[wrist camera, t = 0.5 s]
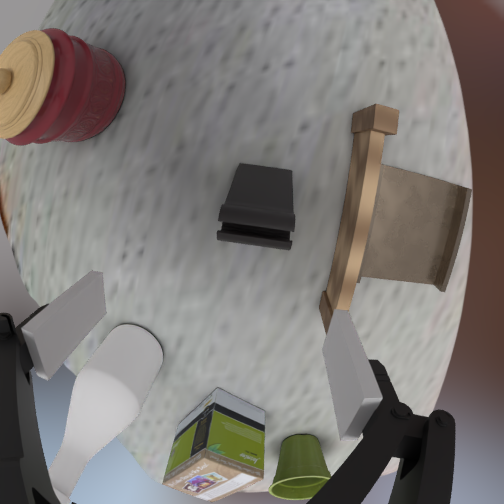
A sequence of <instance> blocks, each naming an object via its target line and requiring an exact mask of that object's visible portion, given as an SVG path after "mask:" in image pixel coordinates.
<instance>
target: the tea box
mask: <svg viewBox="0 0 504 504" xmlns="http://www.w3.org/2000/svg"><path fill="white" fill-rule="evenodd" d="M264 440H265V411H264V410H262V409H260V408H258V407H256V406H254V405H252V404H250V403H248V402H246V401H243V400H241V399H239V398H237V397H235V396H234V395H231V394H230V393H228V392H226V391H224V390H222V389H219V388H217V389H216V390H215V391H214V392H213V393H211V395H209V396H208V397H207V398H206V399H205V400H204V401H203V402H202V403H201V404H200V405H199V406H198V407H197V408H196V409H195V410H194V411H193V412H191V413H190V414H189V415H188V416H187V417H186V418H185V419H184V420H183V421H182V422H181V423H180V424H179V425H178V428H177V431H176V435H175V439H174V443H173V446H172V450H171V453H170V457H169V461H168V465H167V468H166V472H165V476H164V480H163V483H162V484H163V485H166V486H169V487H171V488H173V489H176V490H179V491H181V492H184V493H187V494H190V495H192V496H195V497H198V498H202V499H205V500H208V501H210V502H214V501H217V500H219V499H222V498H224V497H226V496H228V495H231V494H233V493H236V492H238V491H240V490H242V489H244V488H246V487H249V486H251V485H253V484H255V483H256V482H258V481H261V480H263V476H264Z"/></svg>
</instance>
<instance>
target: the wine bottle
mask: <svg viewBox="0 0 504 504" xmlns="http://www.w3.org/2000/svg"><path fill="white" fill-rule="evenodd" d="M162 362H163V352H162V349H161V346H160V344H159V343H158V341H157V340H156V339H155V337H154V336H153V335H152V334H150V333H149V332H148V331H146V330H145V329H143V328H141V327H138V326H135V325H129V324H125V325H120V326H117V327H116V328H114V329H113V330H112V331H111V332H110V333H109V334H108V336H107V337H106V338H105V339H104V341H103V342H102V343H101V345H100V346H99V347H98V348H97V350H96V351H95V352H94V354H93V355H92V356H91V357H90V359H89V360H88V361H87V363H86V364H85V365H84V367H83V368H82V369H81V371H80V372H79V374H78V375H77V378H76V380H75V384H74V387H73V392H72V397H71V402H70V407H69V412H68V417H67V423H66V429H65V435H64V439H63V442H62V445H61V448H60V450H59V451H58V453H57V455H56V457H55V459H54V461H53V462H52V464H51V466H50V468H49V470H48V473H49V477H50V480H51V483H52V487H53V490H54V492H55V494H56V496H57V498H58V499H59V501H60V503H61V504H69V503H70V499H69V497H70V495H71V493H72V491H73V489H74V488H75V486H76V484H77V482H78V480H79V478H80V476H81V474H82V472H83V470H84V468H85V466H86V464H87V463H88V461H89V460H90V459H91V458H92V457H93V456H94V455H95V454H96V453H97V452H98V451H100V450H101V449H102V448H103V447H104V446H105V445H107V444H108V443H109V442H110V441H111V440H112V439H114V438H115V437H116V436H117V435H118V434H119V433H121V432H122V431H123V430H124V429H125V428H127V427H128V426H129V425H130V424H131V423H132V422H133V421H134V420H135V419H136V418H137V416H138V415H139V413H140V411H141V409H142V406H143V404H144V402H145V400H146V398H147V395H148V393H149V391H150V389H151V387H152V385H153V382H154V380H155V378H156V376H157V374H158V372H159V370H160V368H161V365H162Z"/></svg>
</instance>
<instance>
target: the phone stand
mask: <svg viewBox="0 0 504 504" xmlns="http://www.w3.org/2000/svg"><path fill="white" fill-rule="evenodd" d="M218 221H221V222H222V229H221V231H219V230H218V231H217V240H220V241H227V242H234V243H241V244H248V245H255V246H262V247H269V248H276V249H283V250H290V249H291V246H292V241H290V231H292V232H294V229H295V214H294V212H293V185H292V171H291V170H285V169H278V168H271V167H264V166H257V165H249V164H241V163H240V164H239V166H238V169H237V171H236V174H235V177H234V180H233V182H232V185H231V188H230V190H229V193H228V196H227V199H226V201H225V203H224V204H223V205H222V206H221V209H220V213H219V218H218Z"/></svg>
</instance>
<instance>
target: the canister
mask: <svg viewBox="0 0 504 504" xmlns="http://www.w3.org/2000/svg"><path fill="white" fill-rule="evenodd" d="M124 93H125V75H124V71H123V69H122V66H121V65H120V63H119V62H118V61H117V59H116V58H115V57H114V56H113V55H112V54H111V53H109V52H107V51H105V50H103V49H101V48H97V47H94V46H92V45H89V44H87V43H85V42H84V41H83V40H82V39H80V38H78V37H75V36H69V35H68V34H67V33H65V32H64V31H62V30H60V29H56V28H49V29H44V30H41V31H38V30H33V31H29V32H26V33H24V34H22V35H20V36H19V37H17V38H16V39H15V40H13V41H12V42H11V43H10V44H9V45H8V46H7V48H6V49H5V50H4V51H3V53H2V54H1V55H0V138H3V139H6V140H7V141H8V142H10V143H12V144H14V145H27V144H30V143H38V144H42V143H48V142H52V141H65V142H79V141H83V140H86V139H88V138H91V137H93V136H96V135H97V134H99V133H100V132H102V131H103V130H104V129H105V128H106V127H107V126H108V125H109V124H110V123H111V122H112V120H113V119H114V118H115V116H116V114H117V113H118V111H119V109H120V107H121V104H122V101H123V98H124Z"/></svg>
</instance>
